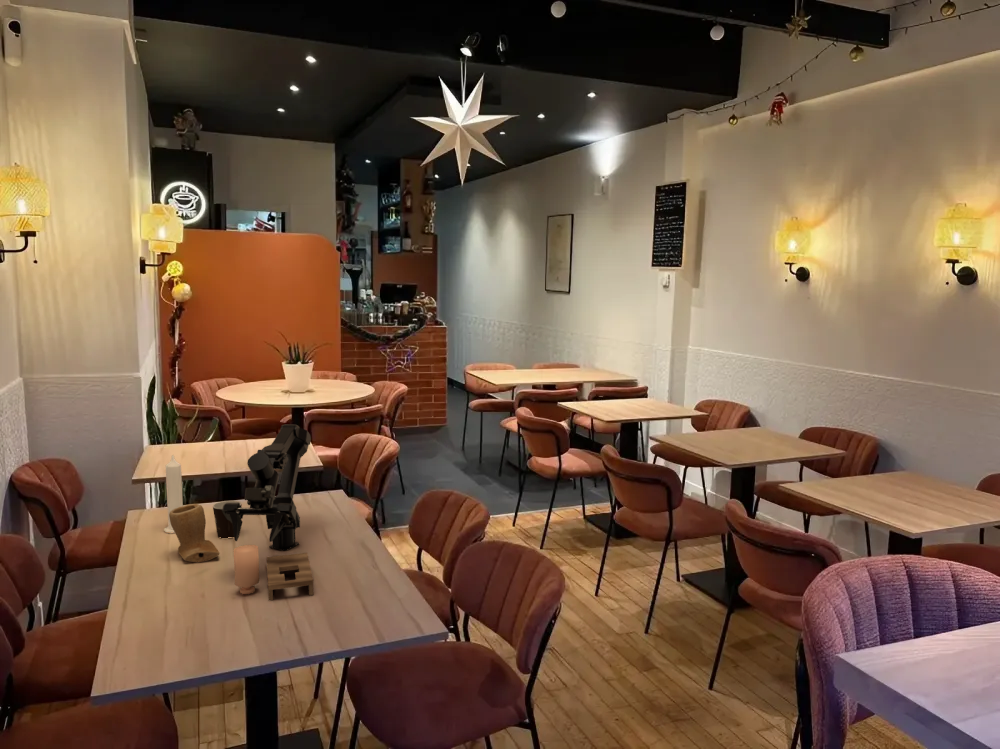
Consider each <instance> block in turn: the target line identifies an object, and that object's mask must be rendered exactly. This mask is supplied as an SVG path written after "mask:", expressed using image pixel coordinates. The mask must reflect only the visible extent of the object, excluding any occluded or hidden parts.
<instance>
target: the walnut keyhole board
mask: <svg viewBox="0 0 1000 749" xmlns="http://www.w3.org/2000/svg"><path fill="white" fill-rule="evenodd" d="M295 570H297V572H294V577H295V579H291V580H290V579H289V580H286V579H285V578H286V577H285V573H280V572H287V571H295ZM266 576H267V577H266V578H267V593H268V601H269V600H271V601H273V600H274V595H273V594H274V591H273V590H280V589H290V588H296V587H297V588H299V587H304V586H305V587H306V586H307V590H309V591H308V595H310V596H314V578H313V573H312V568H311V565H310V560H309V554H308V552H303V553H301V552H300V553H294V554H283V555H282V554H281V555H273V556H266Z"/></svg>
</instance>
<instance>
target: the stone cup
mask: <svg viewBox="0 0 1000 749" xmlns="http://www.w3.org/2000/svg"><path fill="white" fill-rule="evenodd" d="M169 517H170V523H171V526H172V528H173V530H174V532H175V534H174V535H175V536H176V537H177V539H178V541H179V546H178V548H177V552H178V554H179V555H180V556H181V558H182V559H183V560H184V561H187V562H191V563H192V562H193V563H202V562H203V563H204V562H207V561H211V560H213V559H215V558H217V557H218V556H220V551H219V550H218V548H217V546H216V545H215V544H214V543H213V541H211V540H208V539H206V533H205V530H206V523H207V522H206V514H205V510H204V507H203V506H202V505H201V504H199V503H190V504H185V505H183V506H182V507H178V508H175V509H173V510H172V511H171V512H170V513H169Z"/></svg>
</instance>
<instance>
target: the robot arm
mask: <svg viewBox="0 0 1000 749" xmlns="http://www.w3.org/2000/svg"><path fill="white" fill-rule="evenodd" d="M311 438H312V437H311V433H310V432H309V431H308V430H307V429H304V428H303V427H300V426H299V425H297V424H290V423H289V424H286V423H285V424H282V425H281V426H280V430H279V432H278V433H277V435H276V436H275V438H274V440H273V442H271V444H269V445H265V446H264V447H263V448H261V449H258V450H257V452H256V453H253V454H252V455H251V456H250V457H249V458H248V459H247V463H246V465H247V467H248V469H249V471H250V472H251V475H252V477H253V479H255V480H256V481H255V485H254V486H253V487H245V491H244V501H246V505H247V506H249V507H242V506H241V505H240V504H239V503H226V504H225V505H224V506H223V509H222V512H223V514H224V515H225V517H226V518H227V520H229V521H231V523H232V524H233V531H234V538H233V539H234V541H235V542H238V540H239V537H240V533H241V530H242V525H243V520H242V519H243V517H244V516H265V519H266V526H267V530H270V529H271V531H270V533H269V538H268V539H269V542H272V543H271V544H270V545H269V548H271V549H275V550H279V551H283V552H286V551H288V550H290V549H293V548H294V547H296V546H298V545H300V542H297V541H296V529H298V528H300V527H301V516H300V515H299V512H298V511H297V507H296V504H295V502H294V500H293V499H294V493H295V488H296V484H297V478H298V474H299V469H300V464H301V463H300V462H301V458H302V457H304V456H305V454H306V453H307V452H308V449H309V445H311V442H312V441H311V440H312V439H311ZM276 470H282V472H281V477H280V475H279V473H278V472H277V471H276ZM279 477H280V480H279ZM278 483H279V485H278ZM277 486H279V487H278V492H277V495H276V491H277Z"/></svg>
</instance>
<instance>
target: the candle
mask: <svg viewBox="0 0 1000 749" xmlns="http://www.w3.org/2000/svg"><path fill="white" fill-rule="evenodd" d="M165 480H166V481H165V482H166V484H165V485H166V501H167V502H166V505H167V521H168V522H167V525H168V526H166V527H164V529H163V532H164V531H165V532H170V533H171V532H173V533H175V532H174V530H173V528H172V526H171V523H170V517H169V513H170V512H171V511H172V510H173V509H175V508H178V507H182V506H184V504H183V502H184V501H183V479H182V464H181V463H180V462H178V461H177V460H176V459H175V455H174V454H172V455H171V459H170V461H169V462H168V463H167V464H166V465H165ZM165 532H164V533H165Z"/></svg>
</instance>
